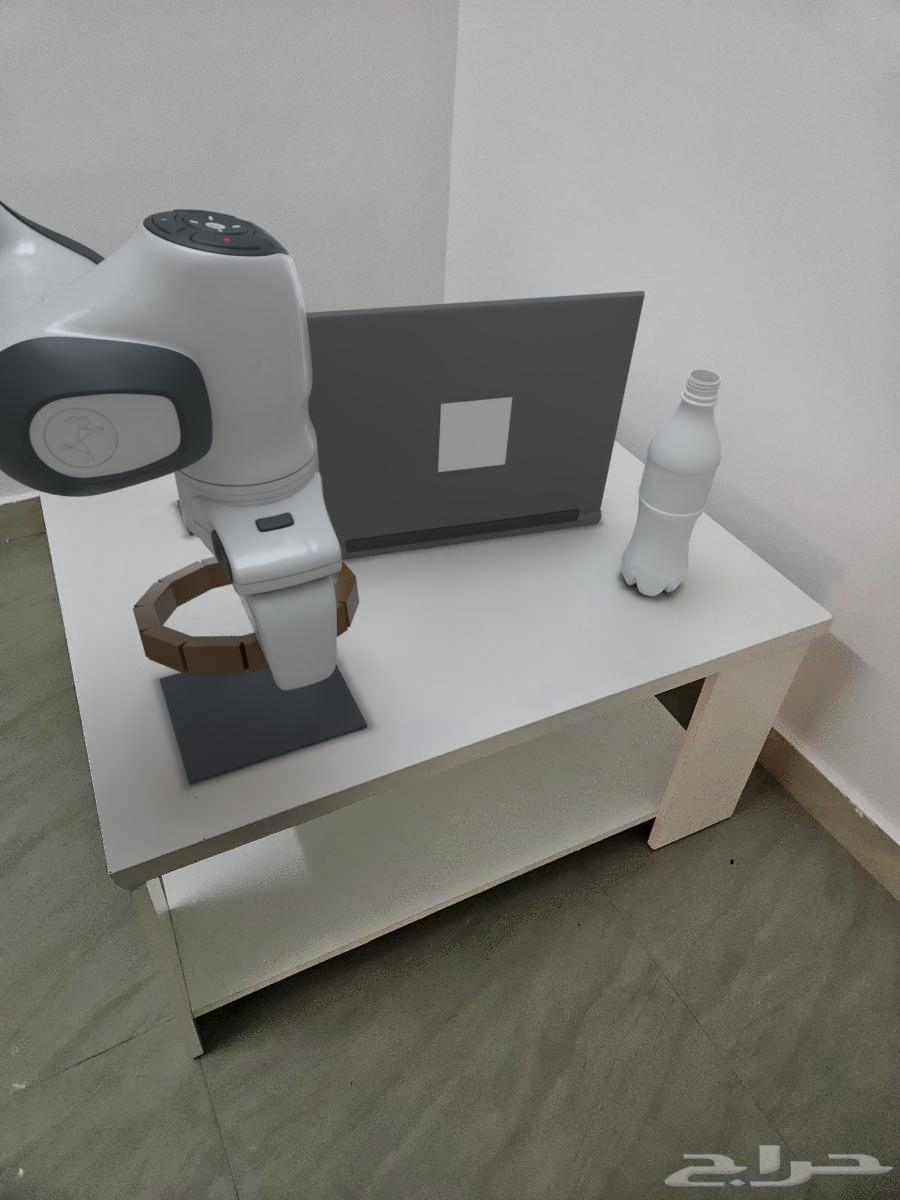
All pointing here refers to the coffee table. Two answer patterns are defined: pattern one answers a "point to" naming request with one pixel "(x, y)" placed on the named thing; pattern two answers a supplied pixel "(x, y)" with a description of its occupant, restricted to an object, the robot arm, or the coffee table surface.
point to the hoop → (214, 650)
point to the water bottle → (674, 488)
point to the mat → (253, 718)
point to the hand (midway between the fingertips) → (271, 643)
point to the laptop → (467, 416)
